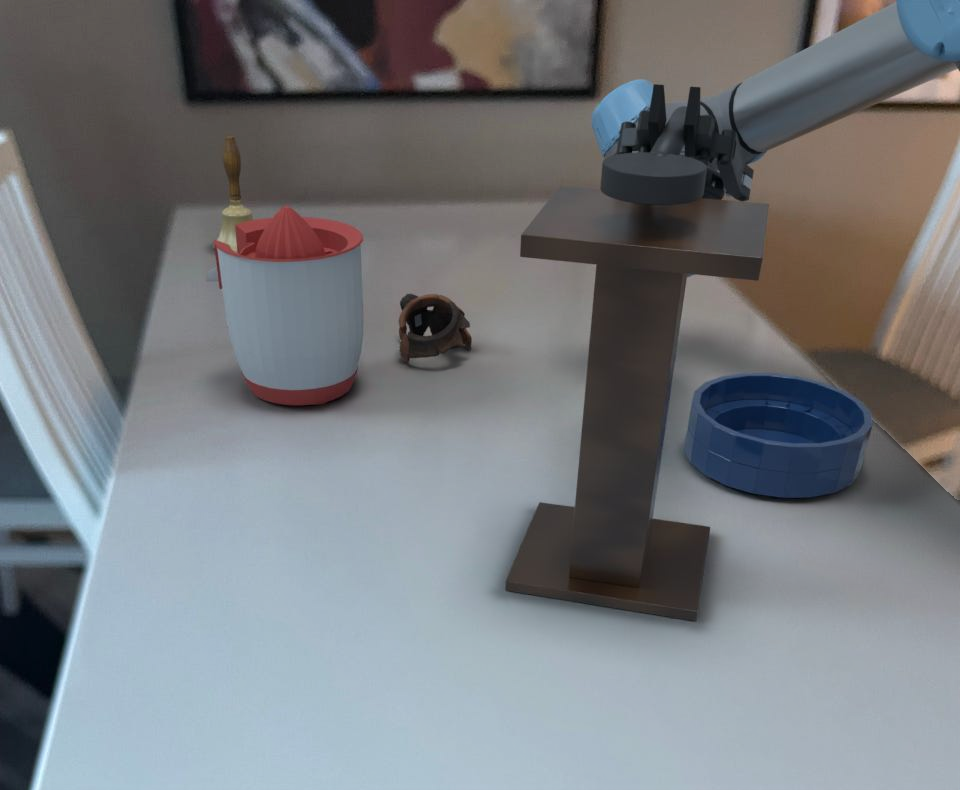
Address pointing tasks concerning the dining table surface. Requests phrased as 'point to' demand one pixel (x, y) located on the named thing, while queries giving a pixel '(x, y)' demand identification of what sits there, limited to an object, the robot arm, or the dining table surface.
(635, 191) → the long-handled flat disc
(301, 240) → the citrus juicer
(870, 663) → the dining table surface
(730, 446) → the bowl
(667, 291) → the wooden pedestal stand
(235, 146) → the hand bell
